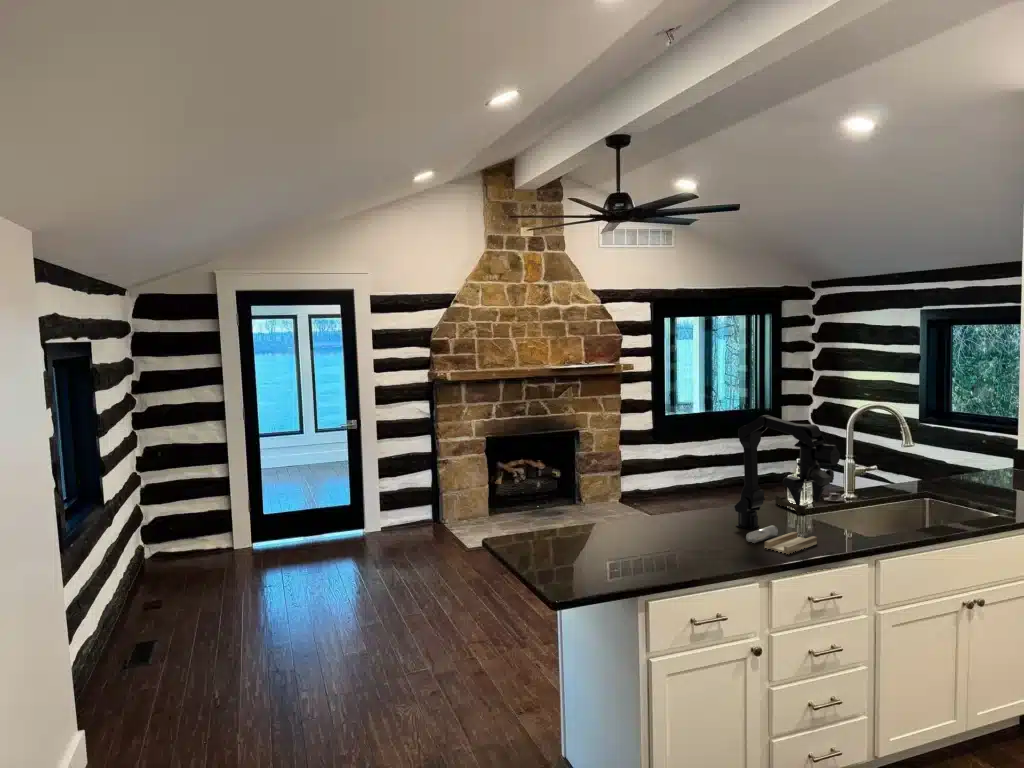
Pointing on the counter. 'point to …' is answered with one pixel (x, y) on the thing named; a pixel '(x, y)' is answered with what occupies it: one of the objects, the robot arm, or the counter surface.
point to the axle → (762, 534)
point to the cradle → (790, 543)
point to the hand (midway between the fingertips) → (807, 503)
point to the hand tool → (788, 504)
